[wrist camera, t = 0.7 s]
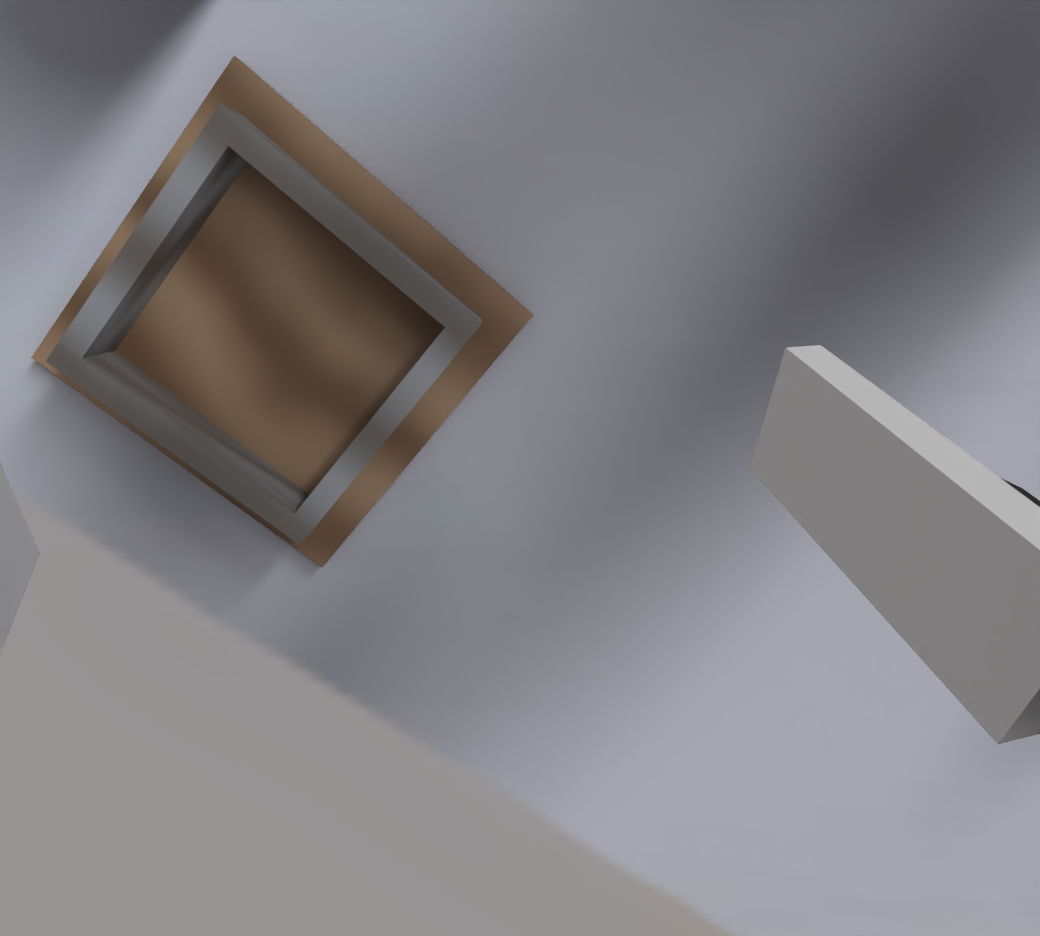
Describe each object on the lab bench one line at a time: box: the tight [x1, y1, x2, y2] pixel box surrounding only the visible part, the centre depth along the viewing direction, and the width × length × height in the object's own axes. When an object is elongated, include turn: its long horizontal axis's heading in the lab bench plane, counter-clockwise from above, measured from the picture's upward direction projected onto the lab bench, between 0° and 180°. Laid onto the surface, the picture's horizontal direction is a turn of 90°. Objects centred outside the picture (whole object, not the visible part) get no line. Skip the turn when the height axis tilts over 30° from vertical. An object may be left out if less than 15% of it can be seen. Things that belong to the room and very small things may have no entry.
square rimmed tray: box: [32, 56, 533, 567], centre depth 35 cm, size 18×18×4 cm
